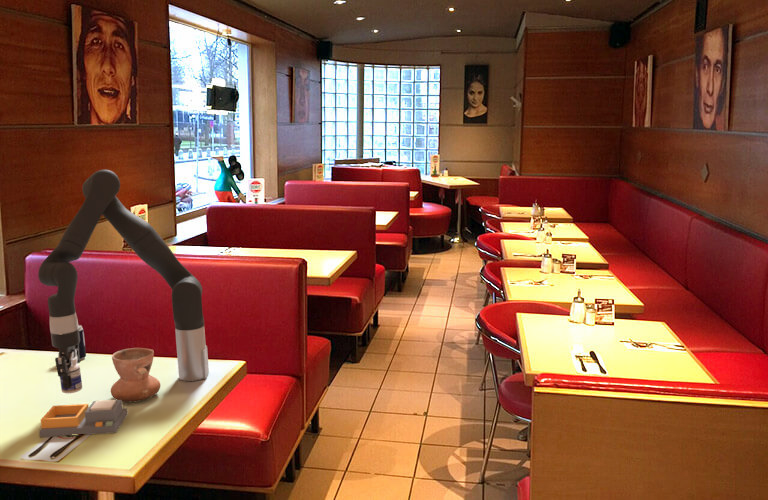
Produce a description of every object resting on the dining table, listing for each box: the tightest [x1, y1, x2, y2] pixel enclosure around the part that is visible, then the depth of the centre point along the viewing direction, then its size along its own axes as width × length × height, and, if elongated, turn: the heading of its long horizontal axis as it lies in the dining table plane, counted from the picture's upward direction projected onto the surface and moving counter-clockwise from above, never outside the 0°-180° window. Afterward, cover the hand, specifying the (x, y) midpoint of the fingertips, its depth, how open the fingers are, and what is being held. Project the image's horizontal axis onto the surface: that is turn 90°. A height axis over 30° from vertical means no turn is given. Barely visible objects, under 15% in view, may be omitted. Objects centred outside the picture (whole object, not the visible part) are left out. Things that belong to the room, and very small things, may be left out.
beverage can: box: [78, 324, 87, 361], centre depth 254 cm, size 6×6×12 cm
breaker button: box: [90, 399, 116, 411], centre depth 198 cm, size 5×5×4 cm
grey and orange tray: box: [38, 399, 128, 438], centre depth 197 cm, size 20×12×6 cm, turn 95°
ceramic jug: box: [110, 347, 161, 403], centre depth 217 cm, size 18×14×14 cm
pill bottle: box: [59, 357, 83, 394], centre depth 209 cm, size 6×6×10 cm
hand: (71, 383), depth 209 cm, fingers closed on pill bottle, 5 cm apart
